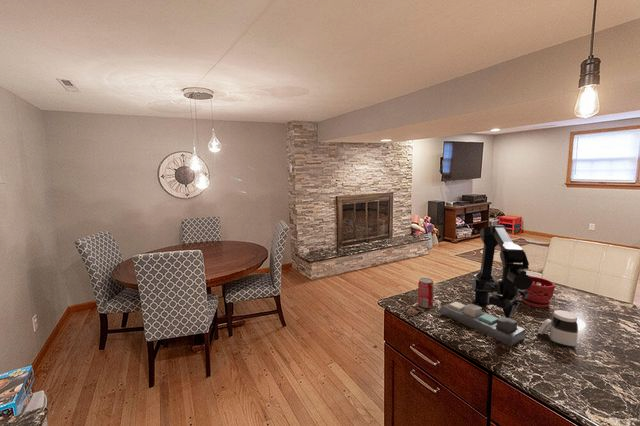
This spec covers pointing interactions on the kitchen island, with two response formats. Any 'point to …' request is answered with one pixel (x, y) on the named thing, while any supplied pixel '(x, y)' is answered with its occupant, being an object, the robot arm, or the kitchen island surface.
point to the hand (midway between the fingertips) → (507, 317)
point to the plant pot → (539, 292)
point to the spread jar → (562, 329)
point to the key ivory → (457, 306)
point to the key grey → (473, 310)
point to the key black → (507, 324)
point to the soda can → (425, 292)
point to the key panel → (484, 326)
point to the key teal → (488, 319)
